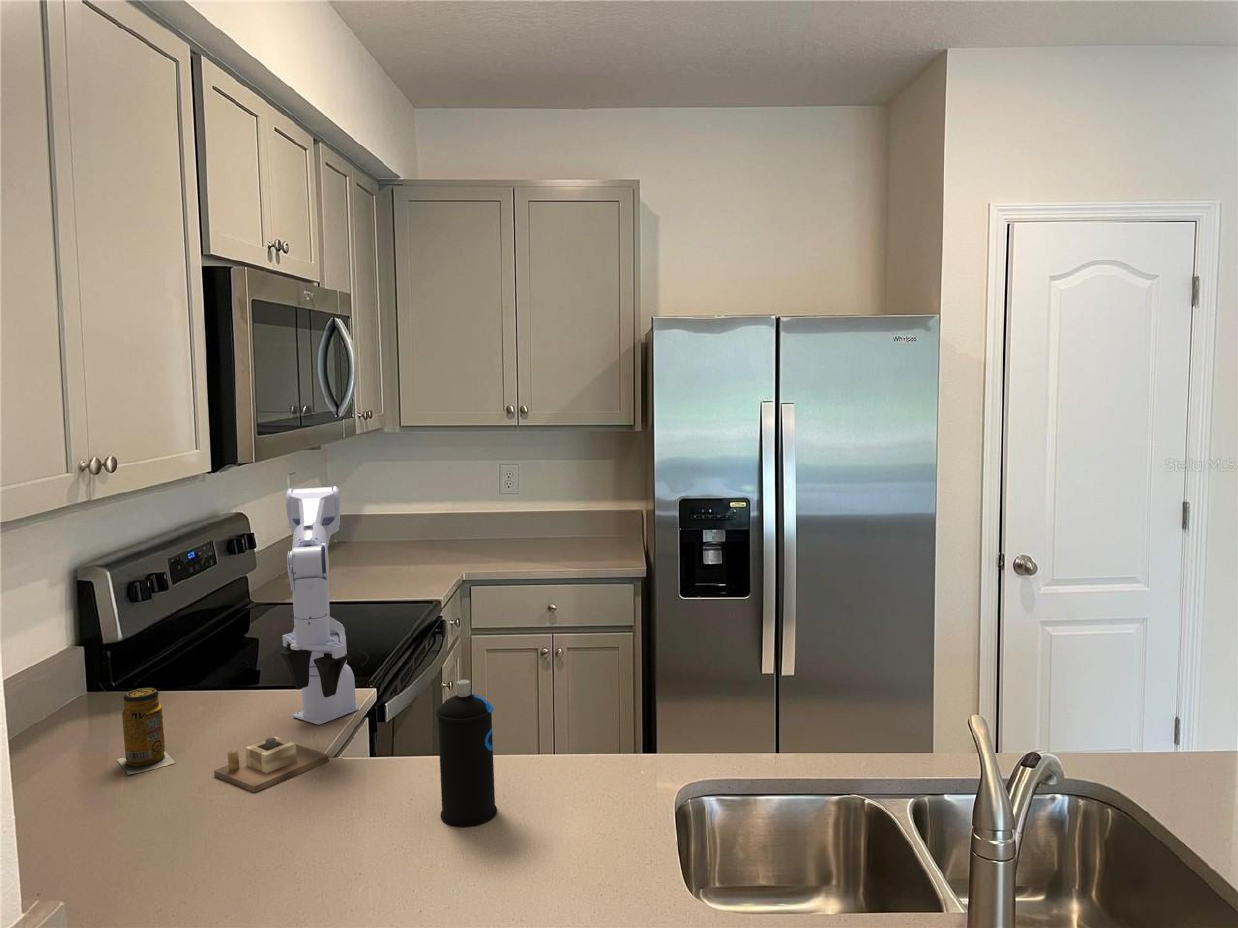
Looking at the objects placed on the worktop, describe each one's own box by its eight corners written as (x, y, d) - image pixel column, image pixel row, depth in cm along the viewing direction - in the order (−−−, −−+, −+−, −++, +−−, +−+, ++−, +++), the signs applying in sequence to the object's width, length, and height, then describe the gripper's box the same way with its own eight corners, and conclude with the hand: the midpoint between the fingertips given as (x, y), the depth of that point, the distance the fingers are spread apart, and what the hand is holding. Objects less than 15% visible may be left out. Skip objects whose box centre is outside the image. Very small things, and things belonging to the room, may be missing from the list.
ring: (276, 753, 159) (275, 736, 158) (296, 760, 156) (295, 743, 155) (246, 765, 154) (245, 747, 154) (266, 772, 151) (265, 755, 151)
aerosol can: (450, 832, 132) (444, 695, 130) (433, 809, 139) (427, 678, 137) (505, 818, 136) (500, 684, 134) (486, 796, 143) (481, 669, 141)
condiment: (162, 748, 165) (157, 682, 163) (175, 763, 158) (170, 694, 157) (116, 760, 160) (111, 692, 159) (128, 776, 153) (122, 705, 152)
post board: (288, 746, 164) (286, 719, 163) (328, 760, 158) (327, 732, 157) (214, 776, 153) (212, 746, 152) (254, 792, 146) (252, 761, 146)
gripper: (265, 614, 162) (270, 690, 164) (318, 626, 154) (323, 706, 155) (300, 605, 168) (304, 679, 169) (353, 616, 160) (357, 693, 161)
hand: (315, 691), depth 163 cm, fingers open, 7 cm apart
